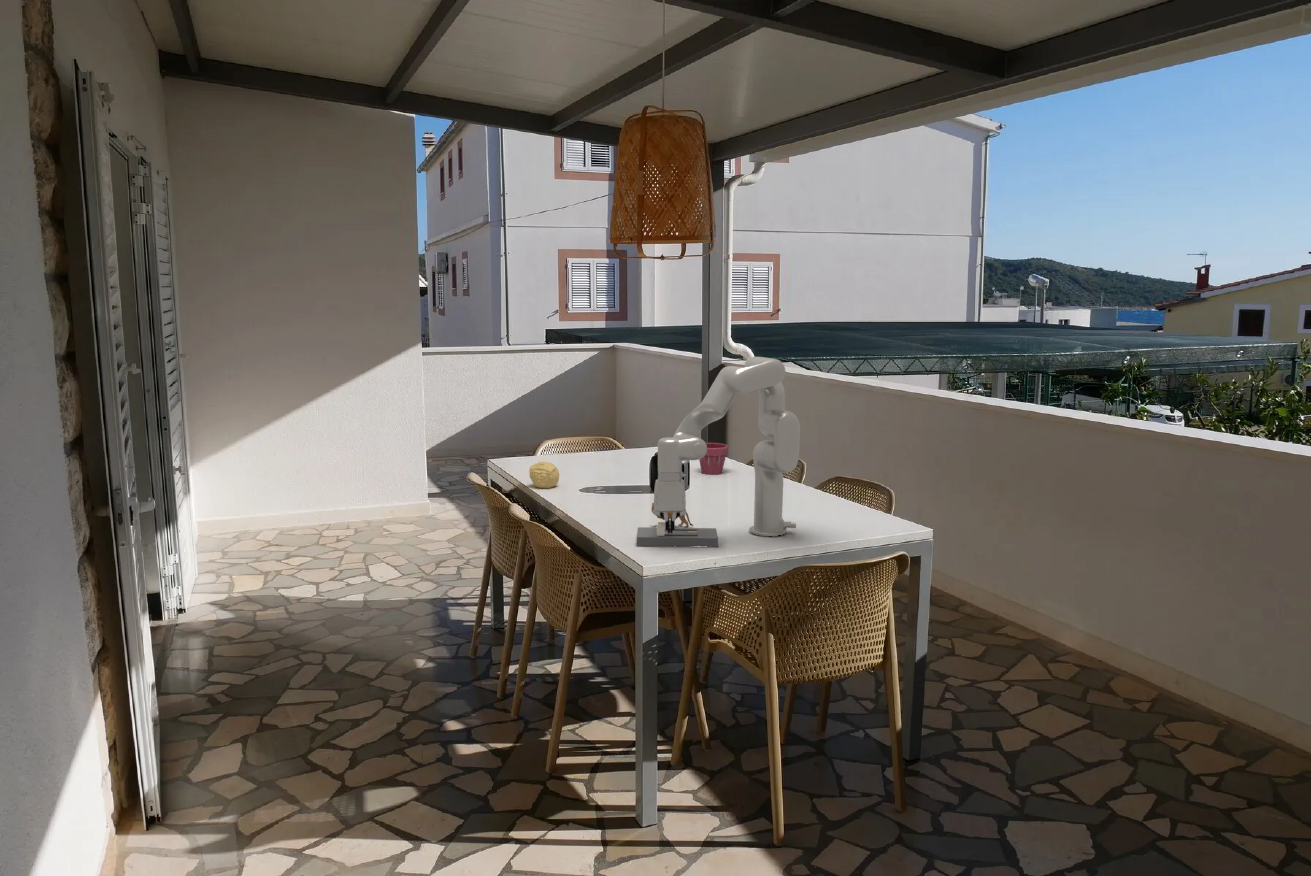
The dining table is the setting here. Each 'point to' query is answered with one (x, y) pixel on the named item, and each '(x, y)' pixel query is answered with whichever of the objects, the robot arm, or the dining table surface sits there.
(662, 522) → the switch
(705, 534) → the switch board
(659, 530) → the switch
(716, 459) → the plant pot
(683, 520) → the lion figurine
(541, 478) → the sculpture
